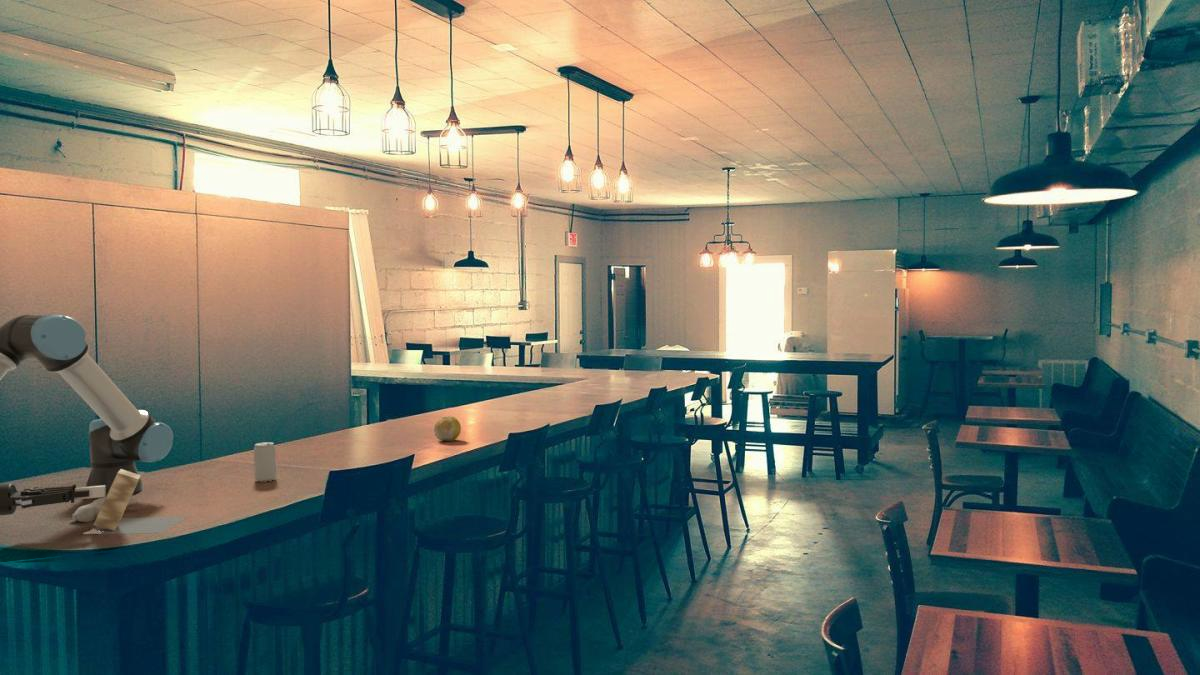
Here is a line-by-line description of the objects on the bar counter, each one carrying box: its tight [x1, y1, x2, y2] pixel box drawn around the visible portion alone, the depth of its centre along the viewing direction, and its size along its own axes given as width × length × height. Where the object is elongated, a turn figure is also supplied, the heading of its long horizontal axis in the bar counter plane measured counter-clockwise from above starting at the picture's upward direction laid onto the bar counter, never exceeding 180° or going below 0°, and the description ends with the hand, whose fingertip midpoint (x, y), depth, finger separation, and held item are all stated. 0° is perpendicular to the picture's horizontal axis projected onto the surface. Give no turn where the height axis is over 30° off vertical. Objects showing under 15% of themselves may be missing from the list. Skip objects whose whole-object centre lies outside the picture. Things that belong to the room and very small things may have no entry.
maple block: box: [93, 469, 142, 531], centre depth 215 cm, size 5×5×14 cm
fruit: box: [433, 415, 462, 442], centre depth 339 cm, size 10×11×10 cm
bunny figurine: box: [71, 497, 138, 523], centre depth 228 cm, size 10×5×15 cm
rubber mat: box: [93, 516, 189, 535], centre depth 218 cm, size 20×15×1 cm
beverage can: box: [253, 441, 277, 483], centre depth 271 cm, size 6×6×12 cm
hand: (105, 491), depth 214 cm, fingers closed
